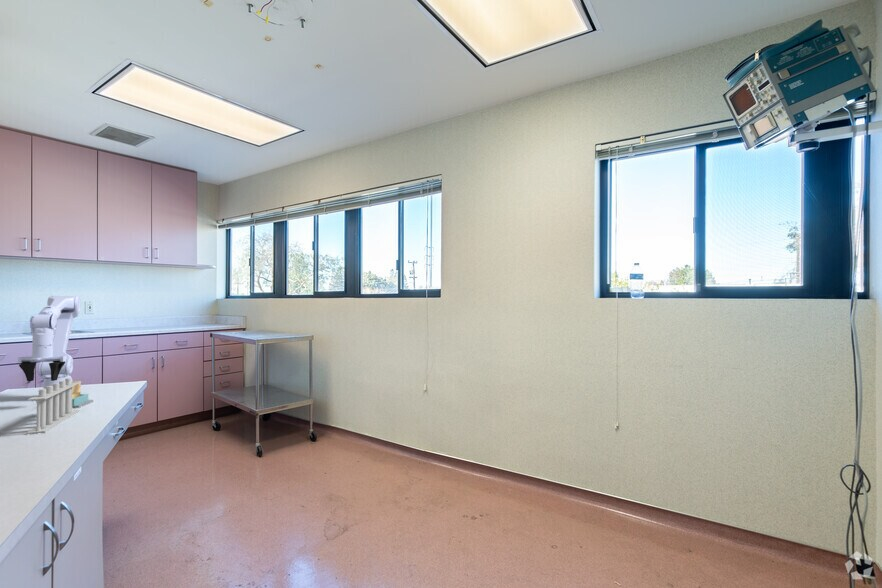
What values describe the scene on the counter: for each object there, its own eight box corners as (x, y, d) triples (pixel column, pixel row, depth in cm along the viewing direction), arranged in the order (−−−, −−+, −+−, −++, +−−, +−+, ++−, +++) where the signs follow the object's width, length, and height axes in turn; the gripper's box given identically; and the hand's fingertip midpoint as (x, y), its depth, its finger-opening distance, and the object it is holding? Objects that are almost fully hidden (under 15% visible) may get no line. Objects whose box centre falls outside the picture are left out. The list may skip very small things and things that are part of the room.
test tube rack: (45, 433, 126) (45, 391, 127) (26, 435, 125) (27, 392, 125) (79, 411, 150) (80, 376, 150) (64, 413, 148) (65, 376, 148)
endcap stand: (66, 402, 161) (66, 394, 161) (93, 401, 163) (93, 393, 163) (50, 409, 152) (50, 400, 152) (78, 407, 154) (78, 399, 154)
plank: (73, 401, 160) (74, 381, 160) (80, 401, 160) (80, 381, 160) (65, 404, 155) (65, 384, 155) (72, 404, 156) (72, 383, 156)
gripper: (11, 347, 150) (11, 383, 150) (58, 346, 153) (57, 382, 153) (26, 344, 157) (25, 379, 157) (70, 344, 160) (69, 378, 160)
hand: (42, 380), depth 155 cm, fingers open, 7 cm apart
